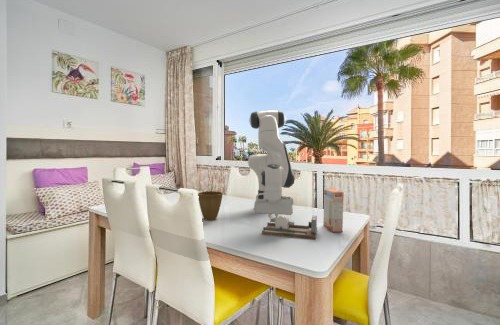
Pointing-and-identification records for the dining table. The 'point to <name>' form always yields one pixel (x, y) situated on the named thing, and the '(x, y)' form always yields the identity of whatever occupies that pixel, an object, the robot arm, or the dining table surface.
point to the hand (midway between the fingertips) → (273, 221)
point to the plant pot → (210, 204)
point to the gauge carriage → (283, 222)
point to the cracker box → (333, 210)
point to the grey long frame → (311, 225)
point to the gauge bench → (290, 233)
